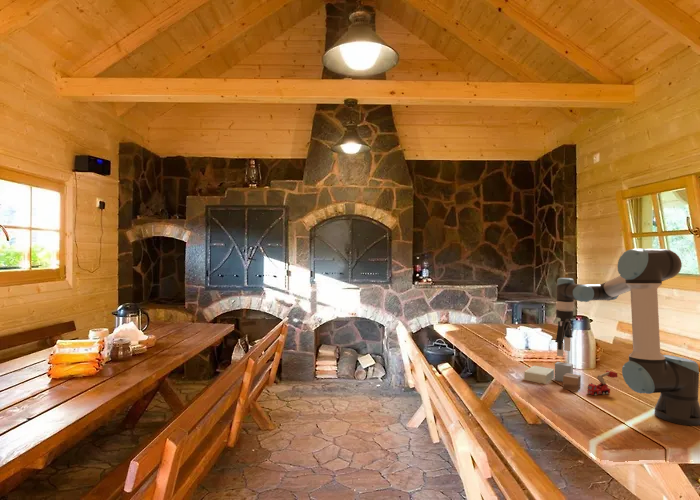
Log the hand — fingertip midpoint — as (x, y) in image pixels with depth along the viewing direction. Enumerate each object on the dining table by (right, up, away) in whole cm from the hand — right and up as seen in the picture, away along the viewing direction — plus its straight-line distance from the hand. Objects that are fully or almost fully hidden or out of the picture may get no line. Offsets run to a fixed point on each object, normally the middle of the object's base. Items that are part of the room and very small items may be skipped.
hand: (563, 353), depth 218 cm
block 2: (-2, -13, -12) cm, 18 cm away
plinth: (-11, -13, +2) cm, 17 cm away
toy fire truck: (+8, -14, -19) cm, 25 cm away
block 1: (0, -13, 0) cm, 13 cm away
